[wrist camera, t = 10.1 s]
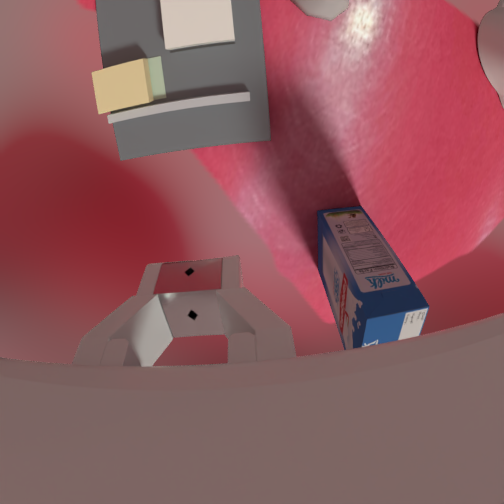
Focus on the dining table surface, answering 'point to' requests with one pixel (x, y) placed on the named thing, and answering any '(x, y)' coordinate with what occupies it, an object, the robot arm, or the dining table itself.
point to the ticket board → (188, 72)
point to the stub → (122, 86)
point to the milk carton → (366, 281)
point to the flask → (322, 8)
